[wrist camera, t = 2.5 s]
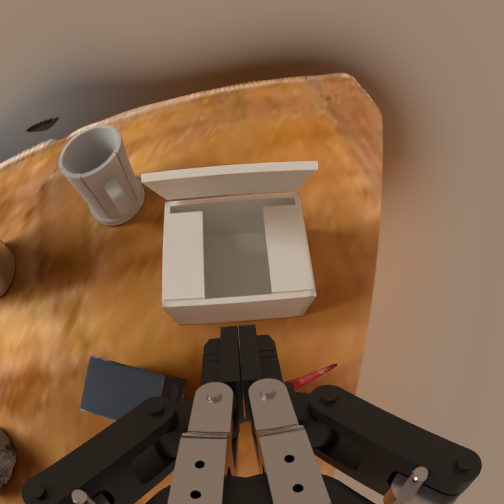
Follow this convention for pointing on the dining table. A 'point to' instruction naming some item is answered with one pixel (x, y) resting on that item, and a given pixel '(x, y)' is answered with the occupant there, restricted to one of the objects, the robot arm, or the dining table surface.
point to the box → (124, 388)
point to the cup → (103, 174)
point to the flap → (230, 179)
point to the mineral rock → (6, 458)
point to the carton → (236, 259)
